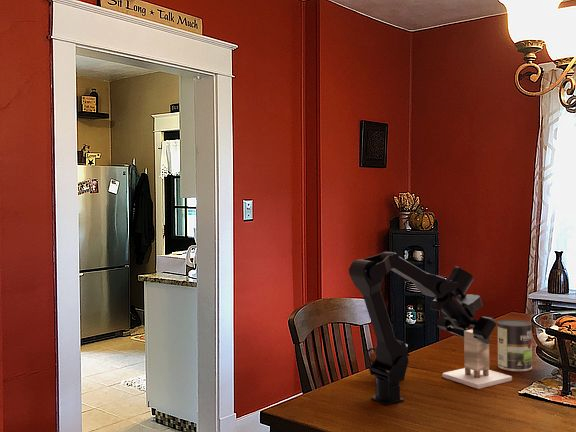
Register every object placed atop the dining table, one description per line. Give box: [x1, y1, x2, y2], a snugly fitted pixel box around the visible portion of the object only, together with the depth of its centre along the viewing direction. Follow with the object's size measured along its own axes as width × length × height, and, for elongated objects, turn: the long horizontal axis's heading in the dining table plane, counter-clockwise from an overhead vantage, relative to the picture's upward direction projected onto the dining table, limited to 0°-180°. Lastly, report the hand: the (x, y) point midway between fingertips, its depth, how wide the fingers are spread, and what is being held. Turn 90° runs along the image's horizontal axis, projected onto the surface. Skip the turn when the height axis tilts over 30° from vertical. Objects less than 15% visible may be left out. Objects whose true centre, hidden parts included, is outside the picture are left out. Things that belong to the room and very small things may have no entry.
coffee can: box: [496, 319, 533, 372], centre depth 199 cm, size 10×10×14 cm
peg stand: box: [442, 367, 513, 390], centre depth 188 cm, size 14×14×3 cm
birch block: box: [463, 328, 490, 371], centre depth 188 cm, size 5×5×11 cm
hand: (479, 340), depth 189 cm, fingers open, 7 cm apart
